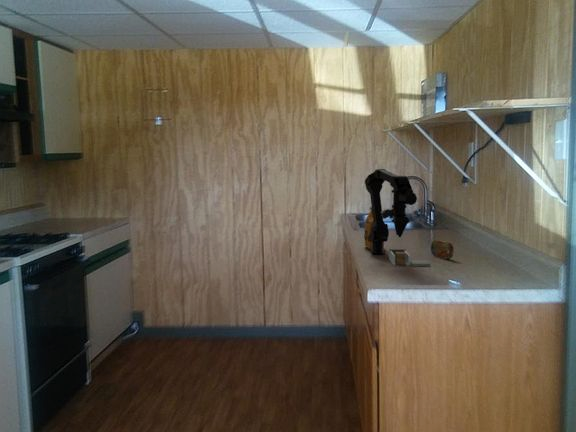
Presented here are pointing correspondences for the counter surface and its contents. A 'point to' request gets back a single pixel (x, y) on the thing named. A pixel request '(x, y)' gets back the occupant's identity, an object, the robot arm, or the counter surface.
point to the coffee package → (369, 229)
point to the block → (399, 257)
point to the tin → (442, 249)
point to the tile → (419, 263)
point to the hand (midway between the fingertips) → (398, 235)
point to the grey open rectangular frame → (392, 255)
